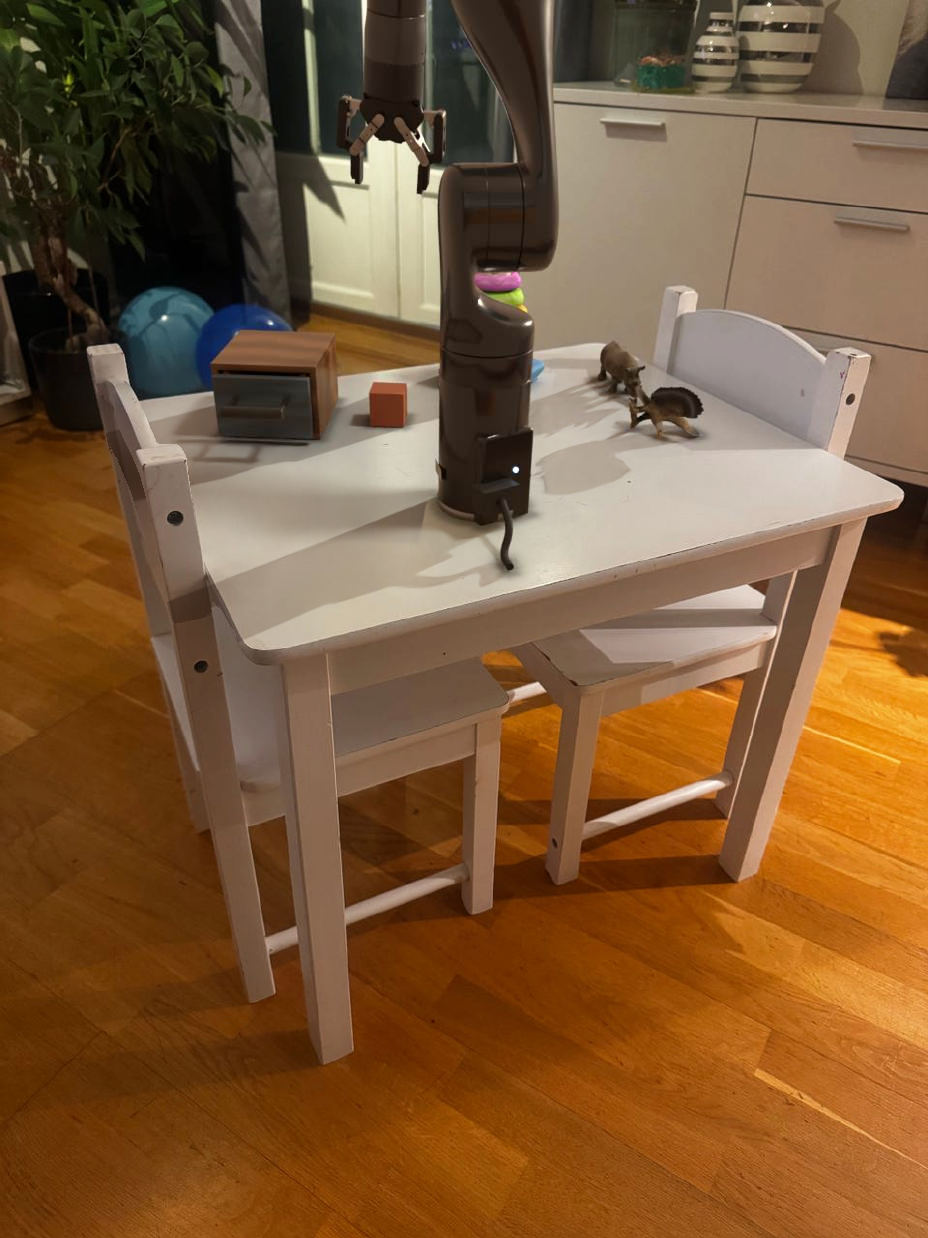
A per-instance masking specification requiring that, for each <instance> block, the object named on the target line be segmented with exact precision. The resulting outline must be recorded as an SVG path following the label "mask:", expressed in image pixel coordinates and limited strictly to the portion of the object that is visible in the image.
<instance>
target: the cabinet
mask: <svg viewBox="0 0 928 1238" xmlns="http://www.w3.org/2000/svg"><path fill="white" fill-rule="evenodd" d="M210 369H211V377H212V376H213V374H223V372H224V370H232V371H260V372H289V373H310V386H311V401H312V415H313V433H314V436H313V438H312V439H311V440H321V439H322V437H323V435H324V433H325V431H326V428H327V426H328V424H329V422H330V419H331V417H332V415H333V413H334V411H335V408H336V406H337V404H338V402H339V397H340V396H339V379H338V377H339V376H338V359H337V341H336V333H335V332H315V331H288V330H259V329H256V330H255V329H240V330H239V331H238V332H237V333H236V334H235V335H234V337H233V338H232V339H230V340H229V342H228V343H227V344H226V346H224V348H223V349H222V350H221V351H220V352H219V353H218V354H217V355H216V357H215V358H213V360H212V361H211V362H210ZM242 437H243V438H244V436H242ZM269 438H272V437H269ZM272 439H273V438H272ZM296 439H297V440H299V438H296Z"/></svg>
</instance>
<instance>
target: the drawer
mask: <svg viewBox="0 0 928 1238" xmlns="http://www.w3.org/2000/svg"><path fill="white" fill-rule="evenodd" d="M211 385H212V393H213V402H214V408H215V415H216V424H217V430H218V436H220V437H243V436H244V437H245V438H270V437H272V439H273V438H274V439H297V438H299V439H301V440H313V439H312V438H313V436H314V433H313V415H312V401H311V386H310V373H289V372H260V371H232V370H224V372H223V374H213V376H212V375H211ZM244 437H243V438H244ZM299 439H298V440H299Z"/></svg>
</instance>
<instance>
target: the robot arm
mask: <svg viewBox="0 0 928 1238" xmlns="http://www.w3.org/2000/svg"><path fill="white" fill-rule="evenodd" d="M449 1H450V5H451V8H452V10H453V13H454V15H455V18H456V20H457V22H458V25H459V26H460V28H461V31H462V32H463V34H464V36H465V38H466V39H467V41H468V43H469V45H470V46H471V48H472V50H473V51H474V53H475V55H476V57H477V58H478V60H479V62H480V64H481V65H482V67H483V68H484V70H485V71H486V73H487V75H488V77H489V79H490V80H491V83H492V84H493V85H494V87H495V90H496V92H497V94H498V96H499V98H500V101H501V102H502V105H503V108H504V110H505V113H506V116H507V119H508V122H509V125H510V130H511V134H512V137H513V142H514V148H515V155H516V162H470V161H469V162H454V163H451V164H449V165H447V167H445V169H444V171H443V172H442V174H441V177H440V180H439V183H438V190H437V204H436V206H437V207H436V209H437V210H436V211H437V239H438V241H437V243H438V259H439V368H440V373H438V375H439V376H438V380H439V381H438V460H437V459H435V462H434V463H435V464H434V465H435V472H436V474H437V477H438V490H437V491H438V492H437V499H436V500H437V502H436V503H437V506H438V508H439V509H440V510H441V511H442V512H443V513H444V514H446V515H448V516H450V517H452V518H455V519H457V520H460V521H461V520H462V521H464V522H465V521H466V522H471V523H475V524H476V525H478V526H480V527H484V526H487V525H491V524H494V523H499V522H502V521H503V522H504V535H503V539H502V543H501V546H500V551H499V557H500V560H501V561H500V562H501V563H502V565H503V566H504V567H505V569H506V571H509V572H510V571H513V570H514V569H515V565H514V562H513V561H512V560H511V559H510V557H509V556H510V555H509V551H510V547H511V544H512V543H511V542H512V540H513V534H514V524H513V523H514V522H513V518H516V517H520V516H524V515H527V514H529V507H530V506H529V505H530V493H531V492H530V491H531V479H532V478H531V476H532V464H533V463H532V461H533V446H534V429H533V428H532V427H531V426H530V425H529V424H530V409H531V392H532V391H531V390H532V382H531V378H532V377H531V376H532V364H533V358H534V348H535V347H534V346H535V333H536V328H535V327H536V325H535V321H534V319H533V317H532V315H531V314H530V313H528V311H527V312H525V311H524V310H522V309H520V308H518V307H515V306H512V305H509V304H506V303H504V302H501V301H498V300H496V299H494V298H492V297H490V296H488V295H487V294H485V293H484V292H482V291H481V290H480V289H479V288H478V287H477V286H476V284H475V275H476V273H511V272H517V273H536V272H543V271H545V270H547V269H548V268H549V266H550V265H551V263H552V262H553V260H554V257H555V255H556V251H557V246H558V240H559V229H560V200H559V199H560V198H559V197H560V196H559V175H558V174H559V173H558V172H559V171H558V158H557V140H556V139H557V138H556V137H557V136H556V122H555V121H556V120H555V106H554V105H555V103H554V101H555V100H554V66H553V65H554V19H555V0H449ZM426 2H427V0H366V14H365V21H364V31H363V39H364V40H363V93H362V99H358V98H353V97H352V95H350V94H348V93H344V94H343V95H342V97H341V98H340V99H339V101H338V103H337V121H336V122H337V124H336V141H335V143H336V147H337V148H339V149H340V150H341V149H343V150H346V151H347V152H348V154H349V156H350V157H349V159H350V163H349V164H350V165H349V167H350V168H349V169H350V172H349V173H350V177H351V180H354V185H359V186H360V185H362V183H363V181H364V162H365V161H364V159H365V158H364V156H365V155H364V153H365V152H364V151H363V150H362V149H364V147H365V146H366V145H367V144H368V142H370V140H371V139H372V138H373V136H374V137H375V138H376V139H378V141H379V142H388V141H389V142H392V143H394V144H398V145H402V144H403V143H406V145H407V147H408V148H409V149H410V151H411V153H413V154H414V156H415V157H416V159H417V161H418V162H419V163H418V165H417V177H416V178H417V179H416V195H421V196H422V195H423V193H424V191H427V189H428V187H429V185H430V179H431V178H430V176H431V165H435V164H437V165H439V164H442V163H443V160H444V158H445V157H446V151H447V150H446V147H447V144H446V142H447V140H446V139H447V112H446V110H445V109H444V108H439V109H438V110H430V109H425V107H424V103H423V93H424V78H425V77H424V76H425V75H424V74H425V59H426V58H425V57H426V53H427V44H426V40H427V39H426V37H427V31H426V29H427V28H426ZM357 111H359V112H360V115H361V116H362V118H363V120H364V122H365V124H366V126H365V128H364V129H363V130H362V131H361V133H360V134H359V135H358V137H357V138H356V139H354V137H351V121H352V118H353V117H354V116H356V113H357ZM424 121H425V122H427V124H428V128H429V129H430V130H431V131H433V149H432V150H430V149H429V147H428V145H427V144H426V142H425V138H424V136H423V134H422V132H421V131H420V129H419V127H420V126H421V125H422V124H423V122H424Z"/></svg>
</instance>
